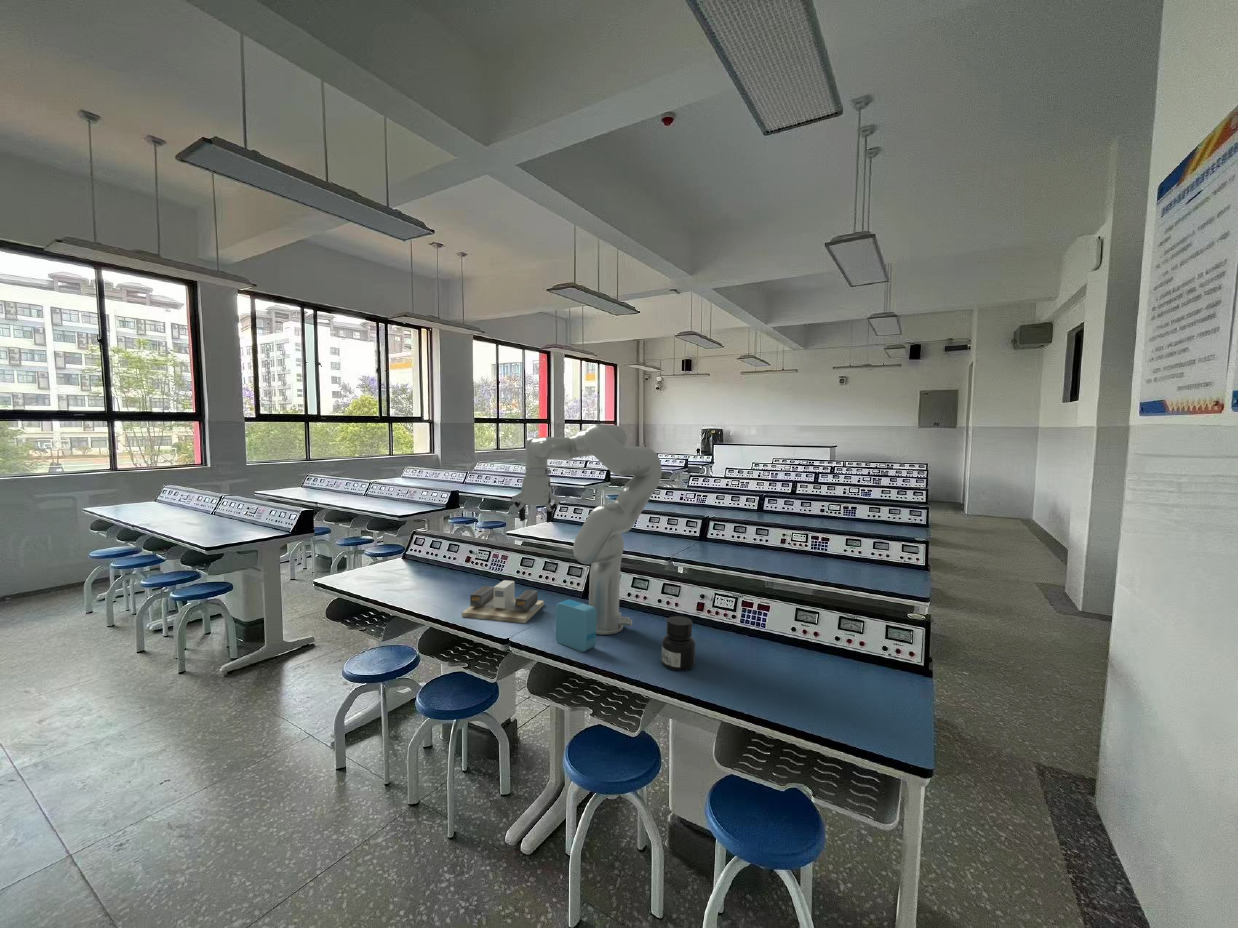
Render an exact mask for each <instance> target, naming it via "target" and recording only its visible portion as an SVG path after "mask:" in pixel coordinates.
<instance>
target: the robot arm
mask: <svg viewBox="0 0 1238 928" xmlns="http://www.w3.org/2000/svg"><path fill="white" fill-rule="evenodd" d="M626 432H627V431H626V430H624V429H623V427H621V426H619V425H617V424H604V423H595V424H593V425H590V426H589V427H587V429H586V428H585V429H581V430H579V431H577V433H576V435H574V436H567V437H565V436H564V437H563V436H556V437H555V436H545V437H541V436H540V437H537V436H536V437H535V436H533V437H531V436H530V437H527V439H525V474H524V476H523V478H522V483H521V491H520V493H517V494H515V495H514V496H513V495H512V497H511V499H512V501H513V503H514V505H515V507H516V508H517V510H518V519H519V521H520V522H523V521H525V520H526V509H525V507H526V506H540V507H542V506H544V507H545V508H546V509H547V511H546V523H551V522H552V520H553V515H554V514H553V513H554V512H553V511H554V510H555V508H557V507H558V505H559V504H560V502H561V498H560V497H558V496H556V495H554V494H553V493H552V492H553V491H552V484H551V479H550V478H551V477H550V476H548V475H549V474H551V473H552V469H549V467H548V460H567V459H574V458H575V459H576V458H583V457H588V456H594V457H595V458H596V459H597V460H598V461H599V462H600V463H601V464H602V465H604V467H605V468H606V469H607V470H609V471H610V472H611V473H612V474H614V475H616V476H620V477H631V478H630V480H628V482H627V483H626V484H625V485H624V486H623V488H622V489H621V490H620V492H619V494H618V495H617V497H616V499H615V500H614V501H612V502H610V503H604V504H601V505H598V506H596V507H594V509H592V510H591V511H590V513H588V516H587V517H586V519H585V521H584V523H583V525H582V526H581V528H580V530H579V532H578V533H577V535H576V536H575V539H574V542H573V547H572V550H573V551H572V552H573V555H574V557H575V558H576V560H577V561H578V562H579V563H581V564H584V565H590V569H589V581H588V582H589V586H588V587H589V588H588V592H589V593H588V605H590V606H593V607H594V608H595V609H596V612H597V620H596V635H605V636H606V635H614V634H617V633H619V632H622V630H623V629H624V626H627V627H632V626H633V619H630V616H623V615H622V612H621V611H620V584H621V582H620V581H621V565H622V558H623V555H624V554H623V553H624V548H625V547H624V546H625V542H624V538H623V536H622V534H623V533H627V532H629V531H630V530H631V529H632V528H633V527H634V525H635V523H636V522H637V520H638V519H639V517H640V515H641V514H642V512H643V510H644V509H645V507H646V506H647V504H648V502H649V500H650V499H651V497H652V496H653V494H654V493H655V491H656V490H657V488H658V486H659V484H660V481H661V478H662V474H663V473H662V470H663V469H662V462H661V459H660V457H659V455H658V454H657V452H656V451H655V450H653V449H651V448H649V447H647V446H626V444H627V442H628V434H627V433H626ZM519 499H520V501H519ZM552 500H554V502H553V504H552ZM520 502H521V503H520Z"/></svg>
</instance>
